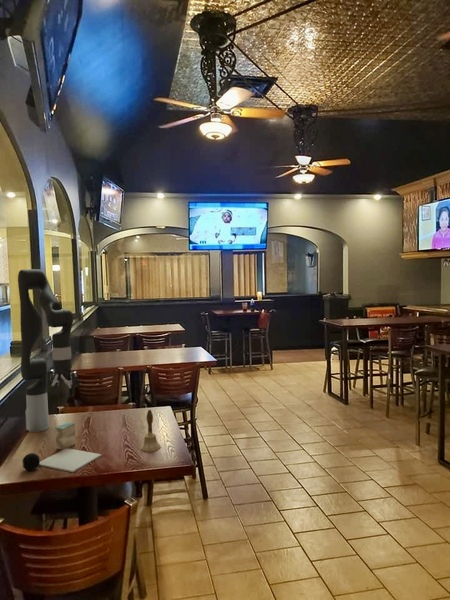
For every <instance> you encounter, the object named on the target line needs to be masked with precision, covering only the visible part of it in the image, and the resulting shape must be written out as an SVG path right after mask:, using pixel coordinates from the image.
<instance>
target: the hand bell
mask: <svg viewBox="0 0 450 600" xmlns="http://www.w3.org/2000/svg"><path fill="white" fill-rule="evenodd" d="M153 420H154V416H153V412H152V410H151V409H148V410H147V413H146V422H147V433H146V434H145V435H144V440H143V443H142V445H141V446H140V448H139V449H140V450H141V451H142V452H149V453H150V452H156V451H158V450H160V449H161V444H159V443H158V441H157V437H156V434H155V433H154V432H153Z"/></svg>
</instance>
